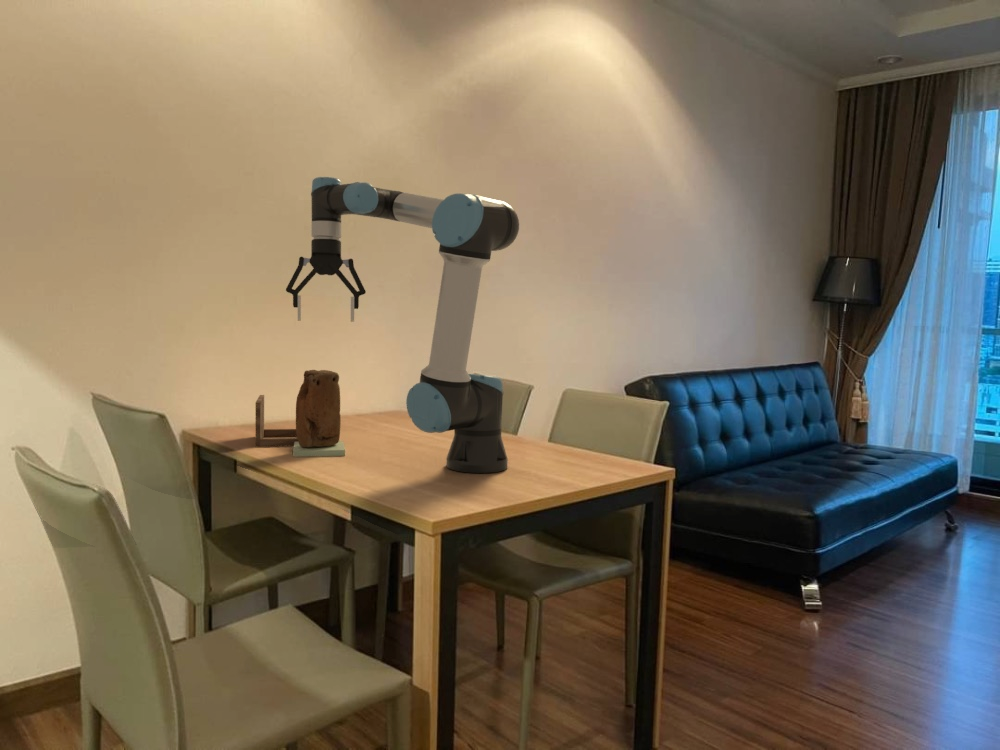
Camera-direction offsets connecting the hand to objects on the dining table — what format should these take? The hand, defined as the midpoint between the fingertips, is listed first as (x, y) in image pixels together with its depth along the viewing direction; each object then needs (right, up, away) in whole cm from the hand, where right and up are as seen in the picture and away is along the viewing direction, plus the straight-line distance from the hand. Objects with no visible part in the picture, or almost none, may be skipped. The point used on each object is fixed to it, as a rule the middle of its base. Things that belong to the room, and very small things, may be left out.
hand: (325, 321), depth 203 cm
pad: (-2, -34, +2) cm, 35 cm away
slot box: (-14, -33, +16) cm, 39 cm away
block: (-3, -33, +2) cm, 33 cm away
